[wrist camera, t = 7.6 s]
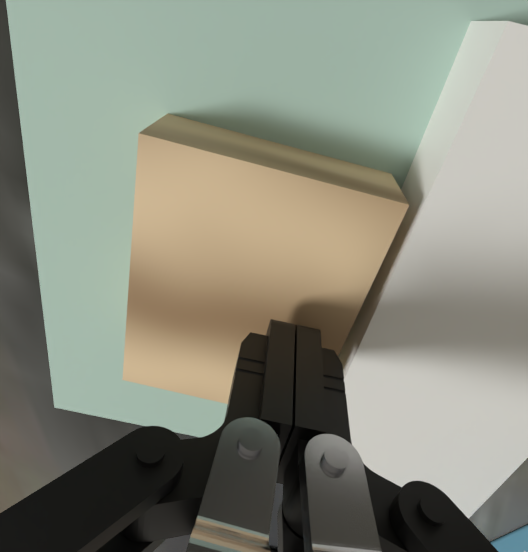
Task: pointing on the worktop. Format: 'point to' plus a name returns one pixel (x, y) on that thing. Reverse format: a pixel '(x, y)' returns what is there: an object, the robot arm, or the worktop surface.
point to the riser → (454, 291)
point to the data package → (513, 541)
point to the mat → (206, 109)
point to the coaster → (244, 249)
